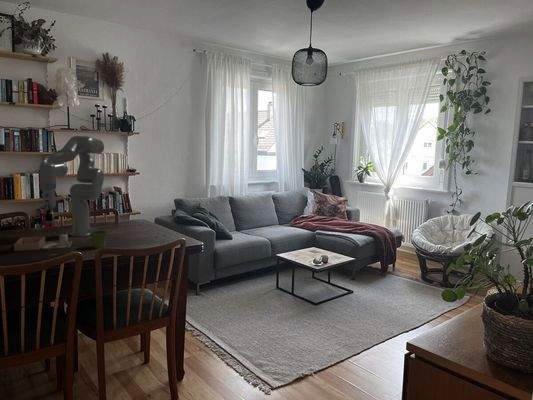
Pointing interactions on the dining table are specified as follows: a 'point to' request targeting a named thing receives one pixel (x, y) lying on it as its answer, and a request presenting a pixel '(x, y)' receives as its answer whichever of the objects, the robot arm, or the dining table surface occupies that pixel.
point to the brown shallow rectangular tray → (29, 243)
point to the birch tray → (55, 245)
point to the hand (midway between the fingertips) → (49, 219)
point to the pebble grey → (63, 240)
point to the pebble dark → (52, 218)
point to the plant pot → (98, 238)
